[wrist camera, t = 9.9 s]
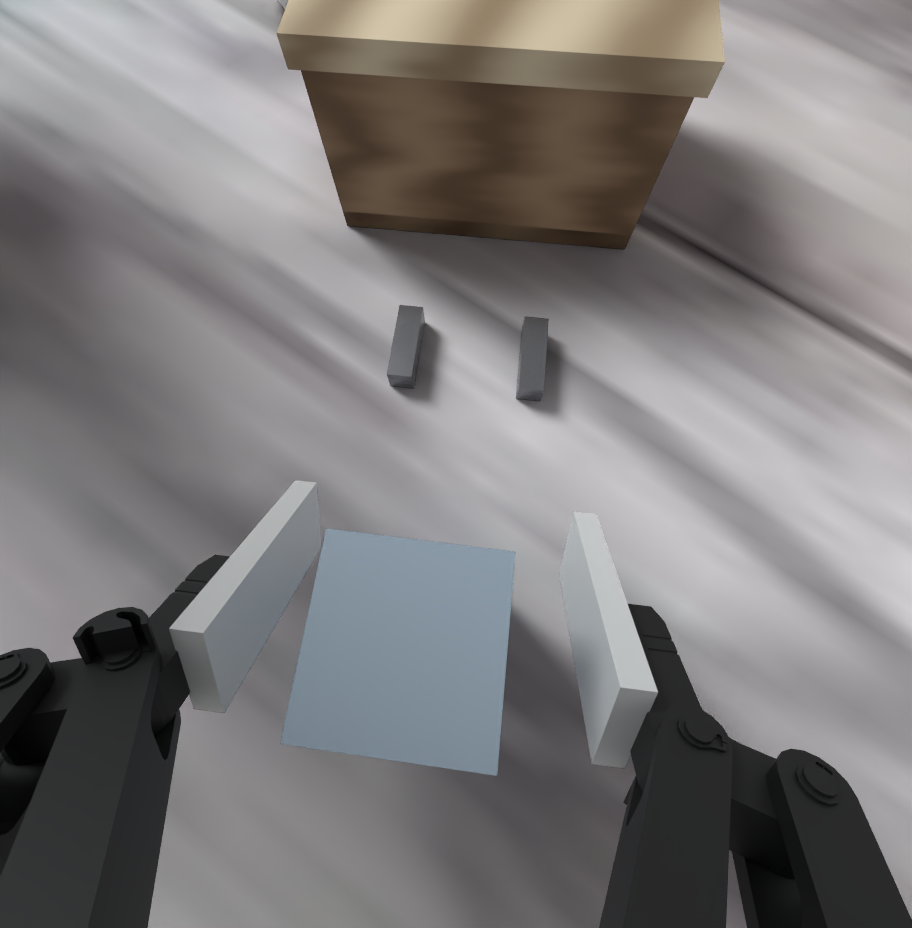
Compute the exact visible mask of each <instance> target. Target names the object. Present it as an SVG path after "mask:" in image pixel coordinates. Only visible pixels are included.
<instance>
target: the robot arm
mask: <svg viewBox="0 0 912 928" xmlns="http://www.w3.org/2000/svg"><path fill="white" fill-rule="evenodd" d="M321 546H322V542H321V530H320V517H319V505H318V492H317V483H316V482H307V481H298V480H295V481H294V482H293V483H292V485H291V486H290V487H289V488H288V489H287V491H286V492H285V493H284V494H283V495H282V496H281V498H280V499H279V500H278V501H277V502H276V503H275V505H274V506H273V507H272V508H271V509H270V510H269V512H268V513H267V514H266V515H265V516H264V518H263V519H262V520H261V521H260V522H259V523H258V525H257V526H256V527H255V528H254V529H253V530H252V532H251V533H250V534H249V535H248V536H247V537H246V539H245V540H244V541H243V542H242V543H241V545H240V546H239V547H238V548H237V549H236V550H235V552H234V553H233V554H232V555H231V556H230V557H229V556H221V555H214V556H213V557H211V558H209V559H208V560H206V561H204V562H203V563H201V564H199V565H198V566H197V567H196V568H195V569H194V570H193V571H192V572H191V573H190V574H189V575H188V577H187V578H186V579H185V582H182V583H181V584H180V585H179V586H178V587H177V588H176V589H175V592H174V593H172V594H171V595H170V596H169V597H168V598H167V599H166V600H165V601H164V602H163V603H162V605H161V606H160V607H159V608H158V609H157V610H156V611H155V612H154V613H153V614H152V615H151V616H150V617H149V619H148V616H147V614H146V613H145V612H144V611H143V610H141V609H137V608H134V607H126V608H117V609H114V610H110V611H107V612H104V613H102V614H100V615H98V616H96V617H94V618H92V619H91V620H89V621H88V622H87V623H85V624H84V625H83V626H82V627H80V628H79V630H78V631H77V632H76V634H75V635H74V637H73V640H74V642H75V644H76V646H77V648H78V650H79V653H80V655H81V657H82V658H80V659H73V660H66V661H58V662H51V663H50V661H49V659H48V657H47V655H46V654H45V653H44V652H42V651H41V650H40V649H33V648H25V649H19V650H13V651H11V652H8V653H5V654H3V655H0V928H147V927H148V921H149V915H150V908H151V902H152V896H153V890H154V884H155V878H156V872H157V866H158V859H159V853H160V847H161V841H162V835H163V829H164V823H165V816H166V810H167V804H168V798H169V792H170V786H171V780H172V774H173V767H174V761H175V755H176V749H177V743H178V737H179V731H180V725H181V716H180V711H179V708H180V707H181V705H182V704H183V702H184V701H185V699H186V698H187V696H188V695H190V698H191V701H192V704H193V708H194V709H198V710H205V711H212V712H220V713H225V711H226V709H227V707H228V706H229V704H230V702H231V701H232V699H233V697H234V695H235V694H236V692H237V690H238V689H239V687H240V685H241V683H242V682H243V680H244V678H245V677H246V675H247V673H248V671H249V670H250V668H251V666H252V665H253V663H254V661H255V659H256V658H257V656H258V654H259V653H260V651H261V649H262V647H263V646H264V644H265V642H266V641H267V639H268V637H269V635H270V634H271V632H272V630H273V629H274V627H275V625H276V623H277V622H278V620H279V618H280V617H281V615H282V613H283V611H284V610H285V608H286V606H287V605H288V603H289V601H290V599H291V598H292V596H293V594H294V593H295V591H296V589H297V587H298V586H299V584H300V582H301V581H302V579H303V577H304V575H305V574H306V572H307V570H308V569H309V567H310V565H311V563H312V562H313V560H314V558H315V557H316V555H317V553H318V551H319V550H320V548H321ZM559 577H560V583H561V589H562V594H563V600H564V606H565V612H566V618H567V623H568V629H569V635H570V641H571V647H572V652H573V658H574V664H575V670H576V676H577V681H578V687H579V693H580V699H581V705H582V711H583V716H584V722H585V728H586V734H587V740H588V745H589V751H590V757H591V763H592V764H595V765H602V766H609V767H617V768H624V769H625V767H626V764H627V762H628V760H629V758H630V755H631V756H632V760H633V764H634V768H635V772H636V777H635V779H634V781H633V783H632V785H631V787H630V790H629V792H628V794H627V796H626V798H625V800H624V802H623V803H625V804H626V805H627V808H626V812H625V817H624V821H623V825H622V830H621V834H620V839H619V843H618V847H617V852H616V856H615V860H614V865H613V869H612V874H611V878H610V882H609V887H608V891H607V895H606V900H605V904H604V909H603V913H602V917H601V922H600V926H599V928H726V910H727V885H728V859H729V850H731V851H732V854H733V859H734V864H735V869H736V874H737V879H738V884H739V889H740V894H741V899H742V904H743V909H744V914H745V919H746V924H747V928H912V919H911V917H910V915H909V913H908V910H907V908H906V906H905V904H904V901H903V899H902V897H901V895H900V893H899V890H898V888H897V886H896V884H895V881H894V879H893V877H892V875H891V872H890V870H889V868H888V866H887V863H886V861H885V859H884V857H883V854H882V852H881V850H880V848H879V845H878V843H877V841H876V839H875V836H874V834H873V832H872V830H871V828H870V825H869V823H868V821H867V819H866V816H865V814H864V812H863V810H862V807H861V805H860V803H859V801H858V798H857V797H856V795H855V793H854V792H853V790H852V788H851V787H850V785H849V784H848V782H847V781H846V780H845V779H844V778H843V777H842V776H841V775H840V774H839V773H838V772H837V771H836V770H835V769H834V768H833V767H832V766H830V765H829V764H827V763H826V762H825V761H823V760H822V759H820V758H819V757H817V756H815V755H812V754H810V753H808V752H806V751H803V750H796V749H789V750H786V751H783V752H781V753H780V755H779V756H778V757H777V759H775V758H773V757H770V756H768V755H766V754H763V753H761V752H759V751H756V750H754V749H751V748H749V747H747V746H744V745H742V744H740V743H738V742H736V741H734V740H732V739H731V738H729V737H728V735H727V733H726V732H725V730H724V728H723V727H722V726H721V725H720V724H719V723H718V722H717V721H716V720H715V719H714V718H713V717H712V716H711V715H709V714H708V713H706V712H704V711H703V710H702V708H701V706H700V704H699V701H698V699H697V697H696V694H695V692H694V690H693V687H692V685H691V683H690V680H689V678H688V676H687V673H686V671H685V669H684V666H683V664H682V662H681V659H680V657H679V655H677V650H676V647H675V645H674V643H673V641H671V639H672V638H671V636H670V633H669V631H668V629H667V626H666V624H665V622H664V621H663V620H662V618H661V617H660V616H659V615H658V614H657V613H656V612H655V611H654V609H653V608H652V607H650V606H641V605H633V604H627V601H626V598H625V595H624V592H623V589H622V586H621V584H620V581H619V578H618V575H617V572H616V569H615V566H614V563H613V560H612V557H611V555H610V552H609V549H608V546H607V543H606V540H605V537H604V534H603V531H602V529H601V526H600V523H599V520H598V517H597V514H592V513H583V512H574V513H573V517H572V521H571V525H570V530H569V534H568V538H567V542H566V547H565V551H564V555H563V559H562V564H561V568H560V572H559Z"/></svg>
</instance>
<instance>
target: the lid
mask: <svg viewBox="0 0 912 928" xmlns="http://www.w3.org/2000/svg"><path fill="white" fill-rule="evenodd" d="M277 36H278V39H279V43H280V46H281V49H282V52H283V55H284V58H285V61H286V64H287V67H288V69H291V70H306V71H320V72H335V73H349V74H364V75H379V76H393V77H408V78H422V79H437V80H452V81H466V82H481V83H495V84H510V85H525V86H539V87H554V88H569V89H583V90H598V91H612V92H627V93H642V94H656V95H671V96H685V97H700V98H708V96H709V94H710V92H711V90H712V88H713V85H714V83H715V81H716V79H717V77H718V75H719V73H720V71H721V69H722V67H723V65H724V63H725V59H724V49H723V39H722V29H721V19H720V9H719V0H288V3H287V6H286V9H285V11H284V14H283V17H282V19H281V22H280V25H279V28H278V30H277Z"/></svg>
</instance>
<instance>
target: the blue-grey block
mask: <svg viewBox="0 0 912 928" xmlns="http://www.w3.org/2000/svg"><path fill="white" fill-rule="evenodd" d="M514 564H515V552H514V551H506V550H498V549H490V548H482V547H473V546H465V545H457V544H449V543H441V542H433V541H425V540H417V539H409V538H401V537H392V536H384V535H376V534H368V533H360V532H352V531H344V530H336V529H328V528H326V531H325V536H324V541H323V545H322V550H321V555H320V559H319V564H318V569H317V573H316V578H315V583H314V587H313V592H312V597H311V601H310V606H309V611H308V615H307V620H306V624H305V629H304V634H303V638H302V643H301V648H300V652H299V657H298V662H297V666H296V671H295V676H294V680H293V685H292V690H291V694H290V699H289V704H288V708H287V713H286V718H285V722H284V727H283V732H282V736H281V741H280V744H284V745H291V746H298V747H305V748H312V749H318V750H325V751H332V752H339V753H345V754H352V755H359V756H366V757H372V758H379V759H386V760H393V761H399V762H406V763H413V764H420V765H426V766H433V767H440V768H447V769H453V770H460V771H467V772H474V773H481V774H487V775H494V776H497V772H498V759H499V747H500V735H501V723H502V710H503V698H504V686H505V674H506V661H507V649H508V637H509V625H510V612H511V600H512V588H513V576H514Z"/></svg>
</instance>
